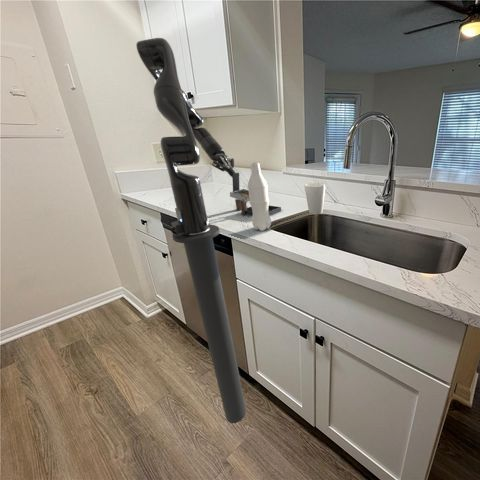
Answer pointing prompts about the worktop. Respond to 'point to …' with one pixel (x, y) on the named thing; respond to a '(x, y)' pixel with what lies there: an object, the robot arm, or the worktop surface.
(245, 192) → the gray angle bracket
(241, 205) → the cradle
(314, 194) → the foam cup
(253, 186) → the water bottle
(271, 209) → the tray
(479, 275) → the worktop surface
